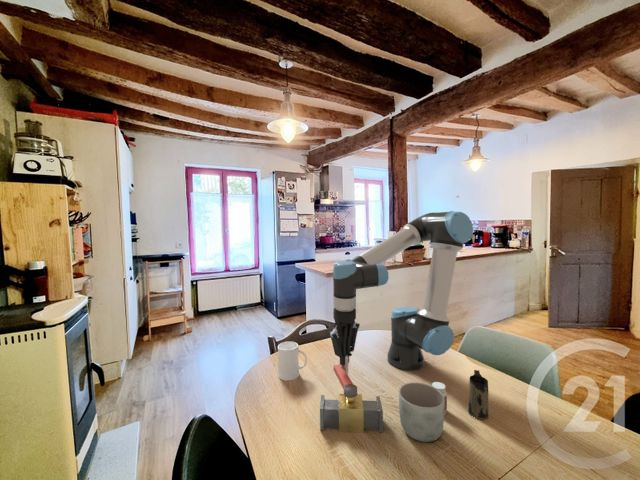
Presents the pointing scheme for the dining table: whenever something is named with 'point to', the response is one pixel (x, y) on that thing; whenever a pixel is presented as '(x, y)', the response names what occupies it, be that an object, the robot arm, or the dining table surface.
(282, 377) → the mug
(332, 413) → the valve
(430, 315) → the robot arm
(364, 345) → the dining table surface
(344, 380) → the lever
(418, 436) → the planter
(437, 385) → the pill bottle
